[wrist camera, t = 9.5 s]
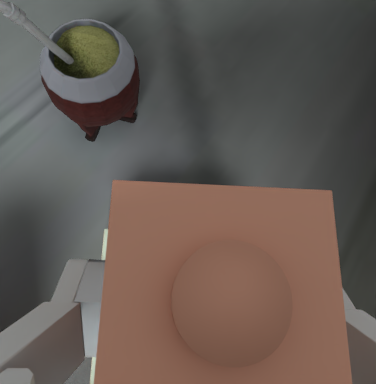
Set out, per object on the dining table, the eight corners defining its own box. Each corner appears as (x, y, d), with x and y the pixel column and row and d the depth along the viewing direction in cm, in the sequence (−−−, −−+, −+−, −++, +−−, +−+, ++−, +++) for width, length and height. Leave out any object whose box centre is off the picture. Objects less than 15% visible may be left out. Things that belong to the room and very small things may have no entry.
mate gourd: (151, 88, 33) (146, -80, 18) (124, 165, 30) (94, 39, 16) (73, 66, 33) (7, -118, 18) (40, 141, 30) (-66, -5, 16)
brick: (230, 355, 15) (382, 459, 5) (134, 354, 15) (78, 461, 4) (229, 258, 16) (348, 179, 6) (140, 255, 16) (108, 167, 6)
